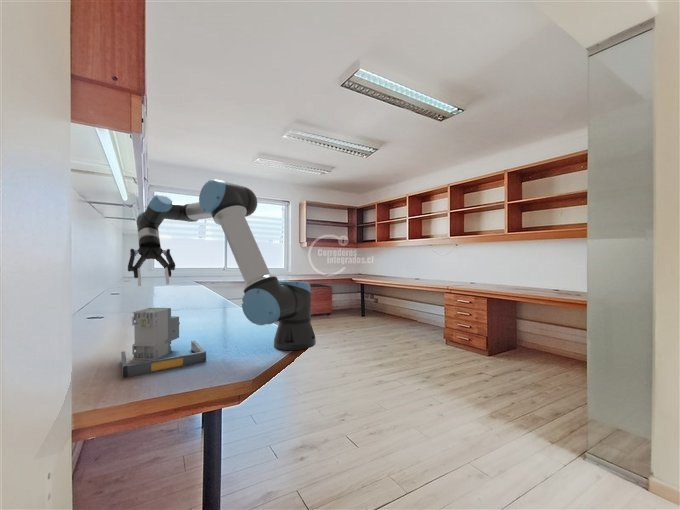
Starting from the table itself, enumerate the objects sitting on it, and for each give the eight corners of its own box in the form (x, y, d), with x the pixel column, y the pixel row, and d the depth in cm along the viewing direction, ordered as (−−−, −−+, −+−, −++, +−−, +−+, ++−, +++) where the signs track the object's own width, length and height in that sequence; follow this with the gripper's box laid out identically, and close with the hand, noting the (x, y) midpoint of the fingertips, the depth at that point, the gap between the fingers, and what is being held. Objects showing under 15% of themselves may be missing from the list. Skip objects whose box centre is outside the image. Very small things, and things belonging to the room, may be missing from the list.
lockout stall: (206, 361, 95) (206, 352, 95) (123, 378, 83) (122, 367, 83) (194, 348, 109) (194, 340, 109) (121, 361, 96) (121, 351, 96)
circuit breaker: (182, 346, 112) (181, 305, 112) (154, 360, 97) (154, 312, 97) (162, 346, 112) (162, 304, 112) (132, 359, 98) (132, 312, 98)
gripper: (176, 248, 136) (184, 287, 123) (117, 247, 124) (119, 291, 111) (178, 235, 132) (186, 274, 119) (118, 233, 119) (119, 277, 107)
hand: (154, 282), depth 115 cm, fingers open, 8 cm apart
